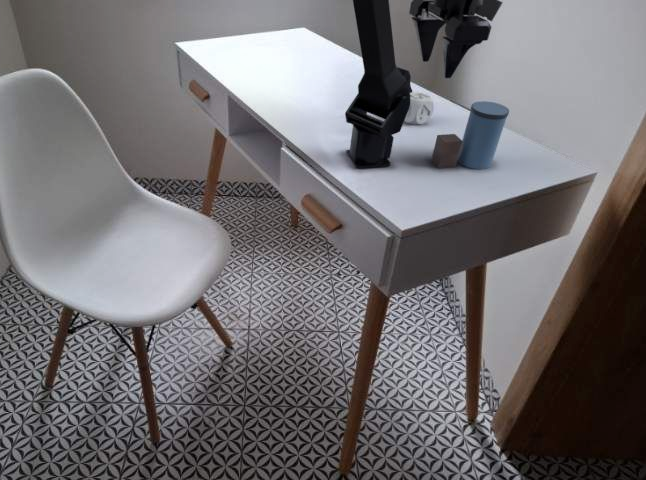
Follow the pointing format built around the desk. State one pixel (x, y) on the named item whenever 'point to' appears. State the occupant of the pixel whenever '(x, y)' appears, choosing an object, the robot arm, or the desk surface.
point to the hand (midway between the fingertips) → (436, 69)
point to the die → (419, 108)
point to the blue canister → (482, 134)
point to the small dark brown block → (446, 150)
